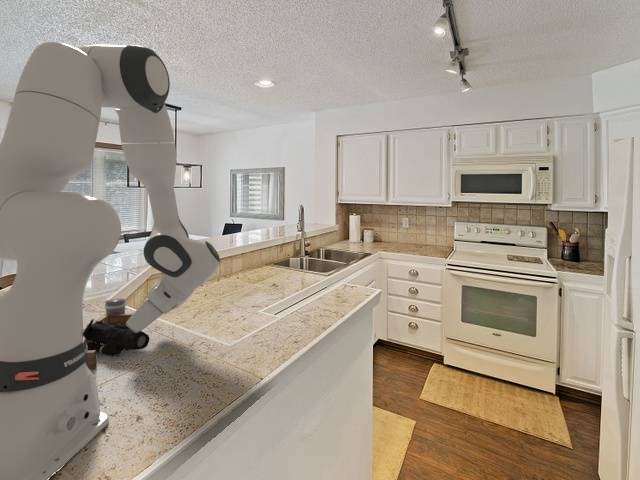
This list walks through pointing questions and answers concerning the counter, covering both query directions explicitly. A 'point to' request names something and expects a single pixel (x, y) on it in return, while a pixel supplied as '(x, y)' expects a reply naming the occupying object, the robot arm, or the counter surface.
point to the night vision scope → (113, 338)
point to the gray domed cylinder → (115, 306)
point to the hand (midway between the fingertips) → (131, 328)
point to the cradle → (105, 319)
